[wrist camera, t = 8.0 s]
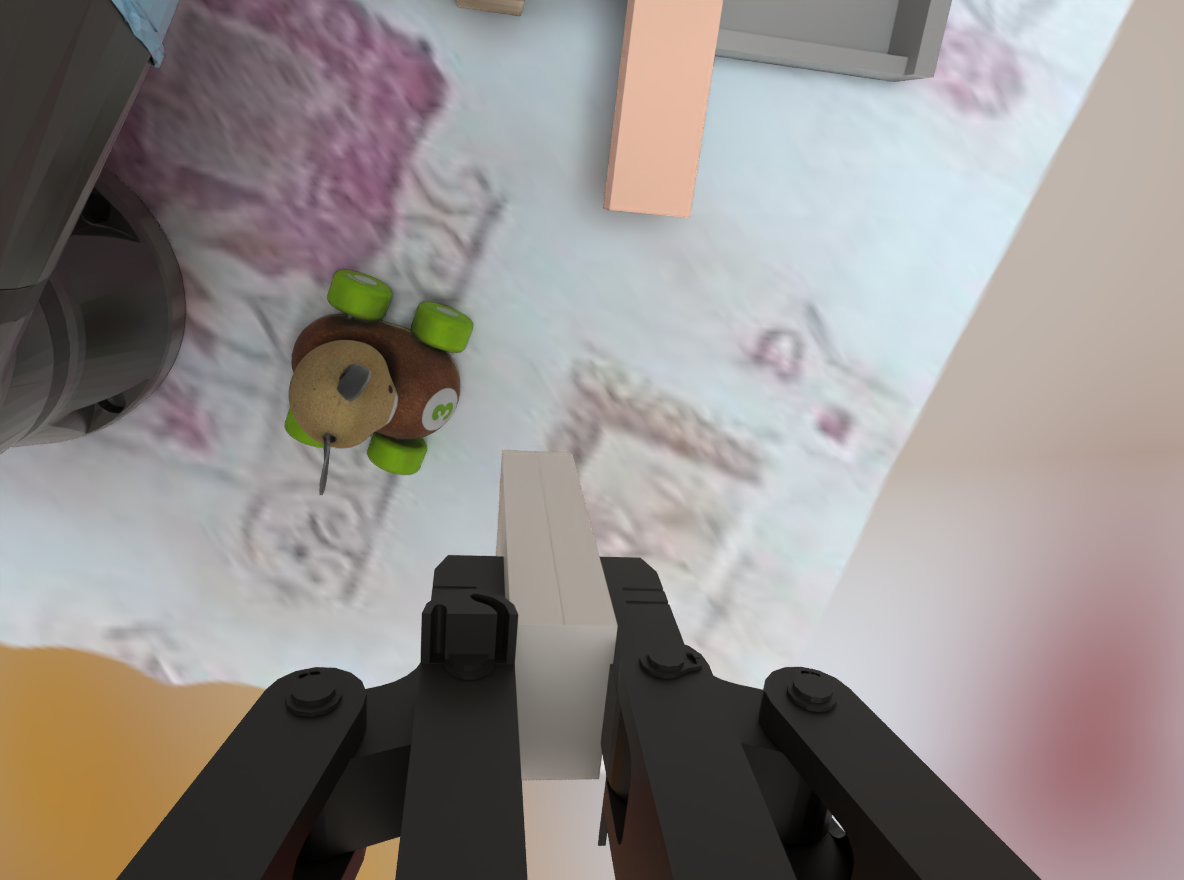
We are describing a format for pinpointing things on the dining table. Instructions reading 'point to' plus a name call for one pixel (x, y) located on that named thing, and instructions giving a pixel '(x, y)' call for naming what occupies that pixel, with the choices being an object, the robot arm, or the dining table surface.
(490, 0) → the fulcrum
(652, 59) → the lever
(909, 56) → the tray
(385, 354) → the toy car
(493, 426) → the dining table surface
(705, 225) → the dining table surface
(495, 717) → the robot arm
